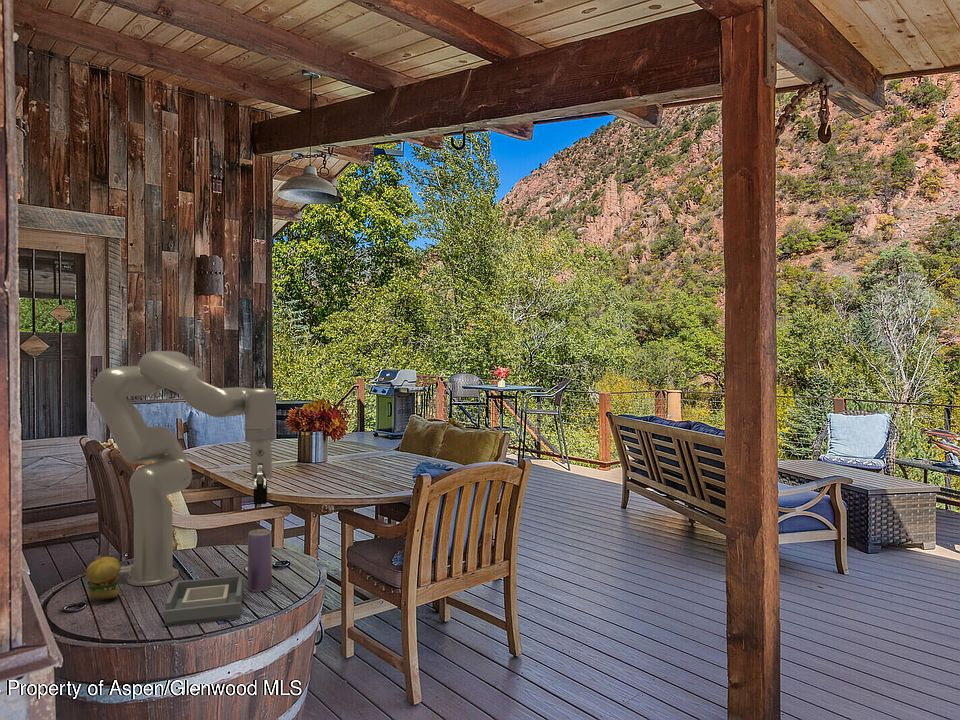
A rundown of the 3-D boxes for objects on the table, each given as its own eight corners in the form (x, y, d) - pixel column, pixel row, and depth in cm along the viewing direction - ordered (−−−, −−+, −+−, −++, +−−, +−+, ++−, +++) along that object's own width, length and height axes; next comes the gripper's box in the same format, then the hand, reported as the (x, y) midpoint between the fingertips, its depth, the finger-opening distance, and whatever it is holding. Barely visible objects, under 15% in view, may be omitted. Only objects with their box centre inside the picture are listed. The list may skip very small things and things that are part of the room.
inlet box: (164, 627, 144) (164, 604, 144) (174, 601, 159) (174, 581, 159) (240, 618, 149) (240, 596, 149) (243, 594, 164) (243, 574, 164)
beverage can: (264, 593, 165) (264, 535, 165) (243, 591, 166) (243, 534, 166) (276, 585, 171) (276, 529, 171) (255, 584, 172) (255, 528, 172)
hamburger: (126, 594, 164) (126, 548, 164) (113, 605, 156) (113, 556, 156) (94, 596, 163) (94, 549, 163) (79, 607, 156) (79, 557, 156)
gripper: (275, 438, 161) (275, 506, 161) (275, 431, 178) (275, 492, 178) (243, 439, 159) (244, 508, 159) (246, 432, 175) (246, 494, 175)
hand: (260, 500), depth 168 cm, fingers open, 9 cm apart
